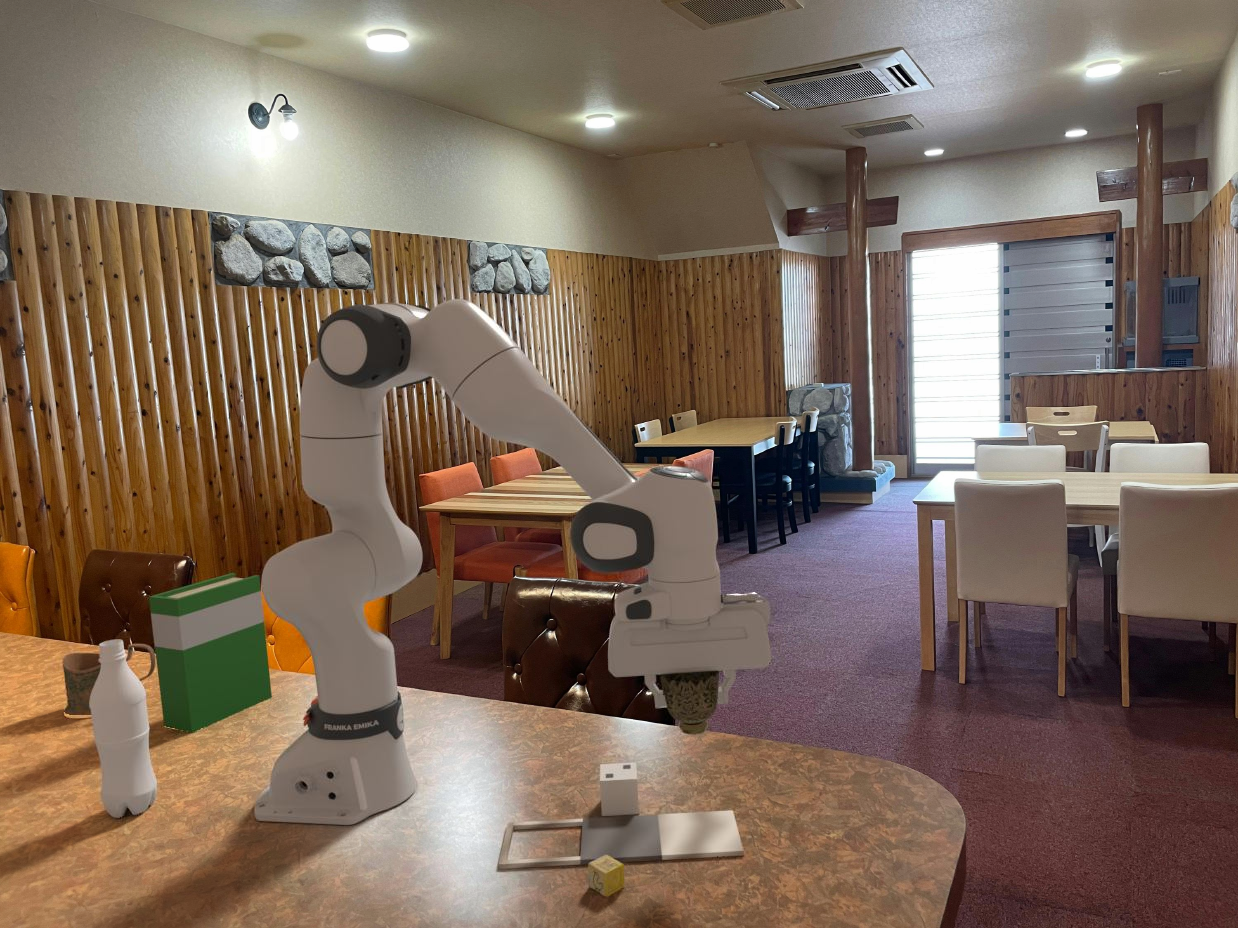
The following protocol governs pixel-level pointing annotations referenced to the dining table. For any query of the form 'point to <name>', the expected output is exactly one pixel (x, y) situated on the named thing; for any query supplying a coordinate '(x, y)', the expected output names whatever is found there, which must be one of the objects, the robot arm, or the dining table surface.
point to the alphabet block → (606, 875)
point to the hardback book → (210, 650)
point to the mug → (88, 677)
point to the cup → (691, 698)
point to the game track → (639, 838)
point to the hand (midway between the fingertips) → (691, 704)
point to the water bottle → (122, 734)
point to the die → (619, 789)
